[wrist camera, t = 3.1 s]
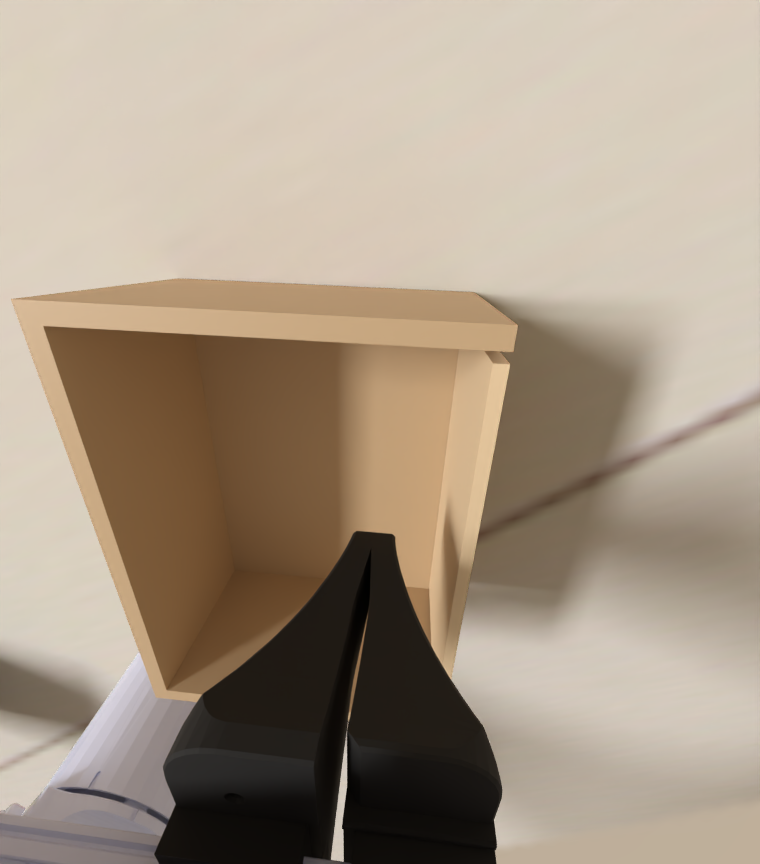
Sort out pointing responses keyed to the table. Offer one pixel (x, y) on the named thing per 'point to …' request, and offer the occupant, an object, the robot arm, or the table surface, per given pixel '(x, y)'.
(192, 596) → the carton
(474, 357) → the flap
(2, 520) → the table surface
